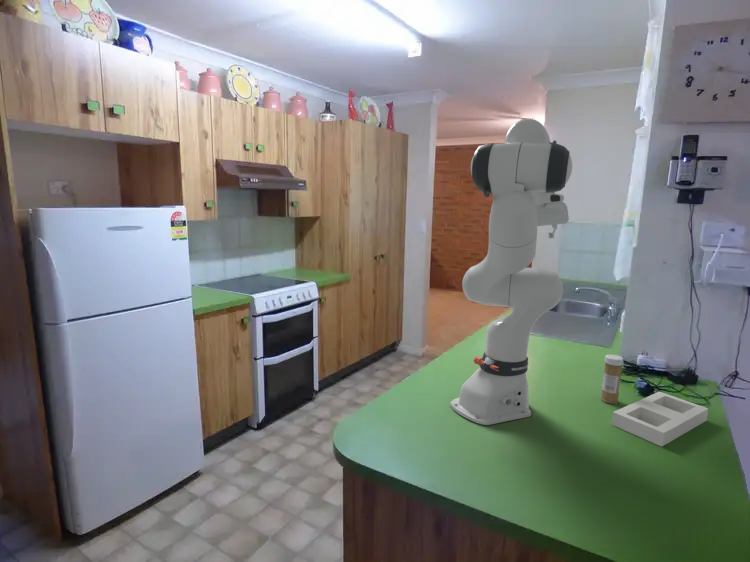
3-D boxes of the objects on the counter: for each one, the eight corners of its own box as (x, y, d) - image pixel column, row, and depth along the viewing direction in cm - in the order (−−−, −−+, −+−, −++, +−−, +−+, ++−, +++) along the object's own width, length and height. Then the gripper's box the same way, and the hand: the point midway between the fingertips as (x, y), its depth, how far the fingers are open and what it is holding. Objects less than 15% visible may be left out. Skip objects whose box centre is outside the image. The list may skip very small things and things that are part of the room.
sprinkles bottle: (621, 402, 126) (626, 357, 123) (612, 405, 123) (618, 360, 121) (605, 396, 129) (610, 352, 127) (596, 399, 127) (602, 355, 124)
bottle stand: (661, 446, 103) (663, 433, 102) (611, 424, 113) (613, 411, 112) (706, 420, 116) (708, 408, 115) (657, 402, 125) (659, 391, 125)
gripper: (502, 202, 145) (505, 243, 148) (569, 195, 140) (570, 237, 143) (501, 201, 151) (504, 240, 154) (565, 194, 146) (566, 235, 149)
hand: (536, 239), depth 148 cm, fingers open, 8 cm apart
